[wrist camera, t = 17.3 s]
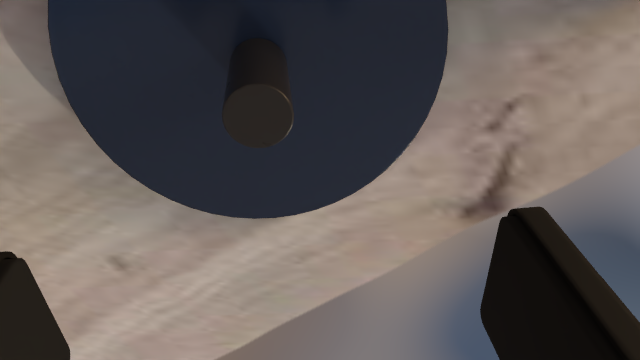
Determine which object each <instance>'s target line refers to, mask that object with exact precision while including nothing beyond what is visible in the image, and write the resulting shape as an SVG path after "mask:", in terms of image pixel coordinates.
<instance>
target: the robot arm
mask: <svg viewBox="0 0 640 360" xmlns="http://www.w3.org/2000/svg"><path fill="white" fill-rule="evenodd" d="M480 310H481V311H480V312H481V319H482V323H483V325H484V328H485V330H486V332H487V334H488V336H489V337H490V340H491V342H492V344H493V346H494V348H495V350H496V353H497V355H498V357H499V359H500V360H640V322H639V321H638V320H637V319H636V318H635V316H634V315H633V314H632V313H631V312H630V310H629V309H628V308H627V307H626V306H625V304H624V303H623V302H622V301H621V300H620V298H619V297H618V296H617V295H616V294H615V293H614V291H613V290H612V289H611V288H610V286H609V285H608V284H607V283H606V282H605V280H604V279H603V278H602V277H601V276H600V275H599V274H598V272H597V271H596V270H595V269H594V268H593V266H592V265H591V264H590V263H589V262H588V261H587V259H586V258H585V257H584V256H583V254H582V253H581V252H580V251H579V250H578V248H577V247H576V246H575V245H574V244H573V242H572V241H571V240H570V239H569V238H568V236H567V235H566V234H565V233H564V232H563V230H562V229H561V228H560V227H559V225H558V224H557V223H556V222H555V221H554V219H553V218H552V217H551V216H550V215H549V213H548V212H547V211H546V210H545V209H544V208H542V207H529V208H517V209H512V210H510V211H509V213H508V216H507V217H502V218H501V220H500V223H499V227H498V232H497V236H496V241H495V245H494V249H493V254H492V258H491V263H490V268H489V272H488V277H487V281H486V286H485V290H484V294H483V299H482V303H481V309H480ZM0 360H70V349H69V346H68V344H67V342H66V340H65V338H64V336H63V334H62V332H61V330H60V328H59V326H58V324H57V322H56V320H55V318H54V316H53V314H52V313H51V311H50V309H49V307H48V305H47V303H46V301H45V299H44V297H43V295H42V293H41V291H40V289H39V287H38V285H37V283H36V281H35V279H34V277H33V275H32V273H31V271H30V269H29V267H28V265H27V263H26V262H25V260H23V259H22V258H17V257H16V255H15V254H13V253H12V252H0Z"/></svg>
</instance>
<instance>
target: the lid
mask: <svg viewBox="0 0 640 360" xmlns="http://www.w3.org/2000/svg"><path fill="white" fill-rule="evenodd" d="M48 29H49V37H50V44H51V51H52V56H53V59H54V63H55V66H56V70H57V73H58V77H59V80H60V82H61V85H62V87H63V89H64V92H65V94H66V96H67V99H68V101H69V103H70V105H71V107H72V108H73V110H74V112H75V113H76V115H77V117H78V119H79V120H80V122H81V124H82V125H83V127H84V128H85V129H86V131H87V132H88V133H89V135H90V136H91V137H92V138H93V140H94V141H95V142H96V144H97V145H98V146H99V147H100V148H101V149H102V150H103V151H104V152H105V153H106V154H107V155H108V156H109V157H110V159H111V160H112V161H113V162H115V163H116V164H117V165H118V166H119V167H121V168H122V169H123V170H124V171H125V172H126V173H128V174H129V175H130V176H131V177H133V178H134V179H136V180H137V181H139V182H140V183H142V184H143V185H145V186H146V187H148V188H149V189H151V190H153V191H155V192H157V193H158V194H160V195H162V196H164V197H166V198H168V199H170V200H172V201H175V202H177V203H180V204H183V205H185V206H188V207H190V208H193V209H197V210H201V211H204V212H208V213H211V214H217V215H223V216H229V217H237V218H252V219H257V218H277V217H284V216H291V215H297V214H301V213H305V212H309V211H313V210H316V209H319V208H322V207H324V206H327V205H330V204H333V203H335V202H337V201H339V200H341V199H343V198H345V197H347V196H349V195H351V194H353V193H355V192H356V191H358V190H360V189H361V188H363V187H364V186H366V185H367V184H369V183H370V182H372V181H373V180H374V179H375V178H377V177H378V176H379V175H380V174H382V173H383V172H384V171H385V170H387V169H388V168H389V167H390V166H391V165H392V164H393V163H394V162H395V161H396V160H397V159H398V158H399V157H400V156H401V154H402V153H403V152H404V151H405V149H406V148H407V147H408V146H409V144H410V143H411V142H412V141H413V139H414V138H415V136H416V135H417V133H418V131H419V130H420V128H421V127H422V125H423V123H424V122H425V120H426V118H427V116H428V114H429V112H430V109H431V107H432V105H433V103H434V101H435V98H436V95H437V92H438V89H439V86H440V83H441V79H442V76H443V71H444V65H445V60H446V55H447V40H448V20H447V6H446V0H48Z"/></svg>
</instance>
